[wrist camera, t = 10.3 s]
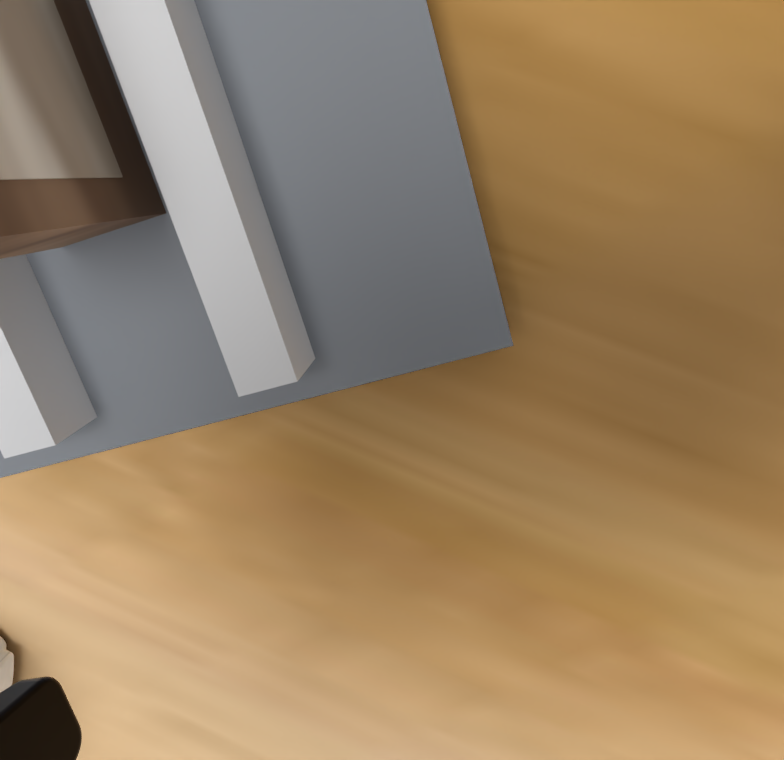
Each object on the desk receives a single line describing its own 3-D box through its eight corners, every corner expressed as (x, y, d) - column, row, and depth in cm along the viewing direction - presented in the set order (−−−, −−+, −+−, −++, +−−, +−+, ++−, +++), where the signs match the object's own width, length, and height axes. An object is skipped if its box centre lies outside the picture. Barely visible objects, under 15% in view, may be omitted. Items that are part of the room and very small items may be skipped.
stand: (296, -508, 13) (242, -732, 10) (509, 332, 18) (520, 367, 15) (-374, -162, 16) (-583, -246, 13) (-43, 476, 21) (-137, 533, 18)
